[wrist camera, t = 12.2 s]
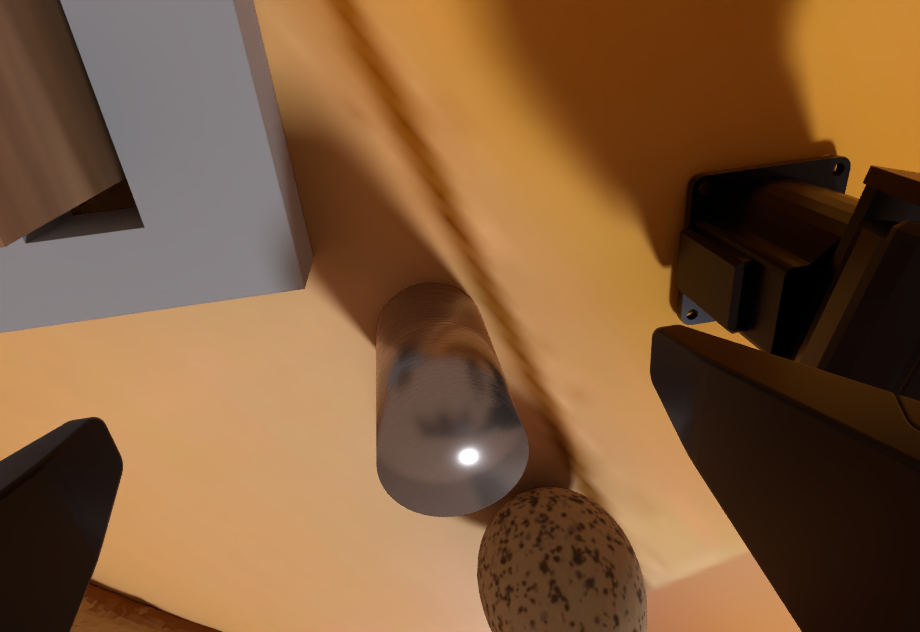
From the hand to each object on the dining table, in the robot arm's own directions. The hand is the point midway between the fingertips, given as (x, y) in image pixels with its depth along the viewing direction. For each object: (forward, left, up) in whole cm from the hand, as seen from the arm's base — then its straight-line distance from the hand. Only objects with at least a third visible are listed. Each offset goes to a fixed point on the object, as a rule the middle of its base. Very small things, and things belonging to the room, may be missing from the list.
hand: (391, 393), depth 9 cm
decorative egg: (-5, +17, -13) cm, 22 cm away
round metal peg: (-1, +6, -13) cm, 14 cm away
